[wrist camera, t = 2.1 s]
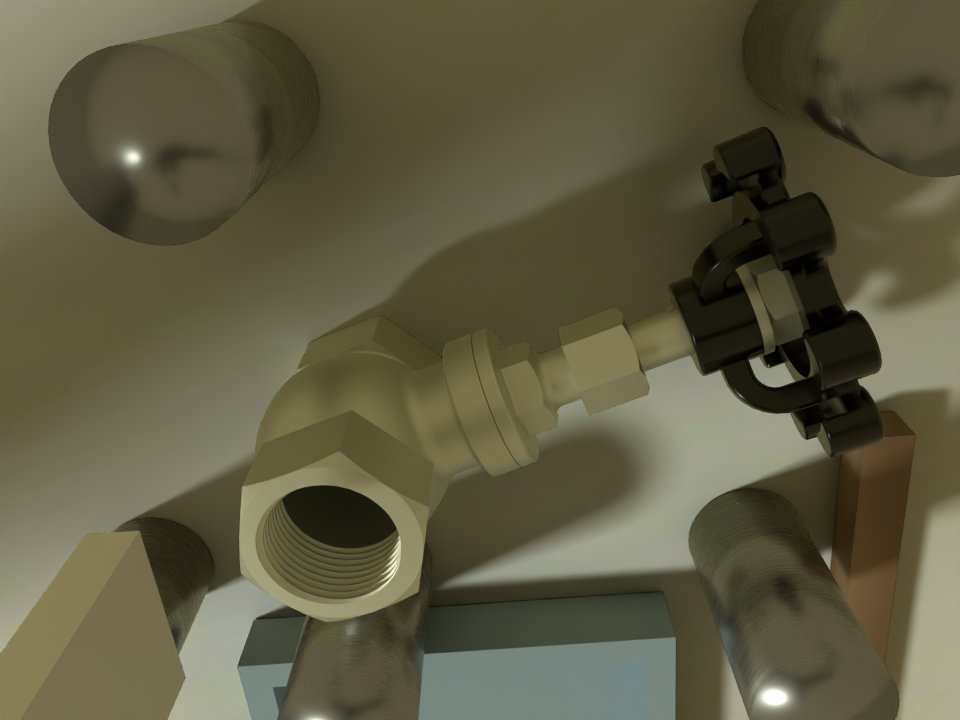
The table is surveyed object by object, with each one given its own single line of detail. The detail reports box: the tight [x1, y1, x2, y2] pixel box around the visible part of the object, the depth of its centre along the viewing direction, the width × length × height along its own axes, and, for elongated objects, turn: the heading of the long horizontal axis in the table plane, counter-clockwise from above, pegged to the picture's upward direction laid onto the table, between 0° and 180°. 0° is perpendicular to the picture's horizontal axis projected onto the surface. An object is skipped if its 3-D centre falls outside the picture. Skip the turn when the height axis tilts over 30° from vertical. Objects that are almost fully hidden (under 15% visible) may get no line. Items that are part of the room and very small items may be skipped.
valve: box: [239, 127, 885, 622], centre depth 18 cm, size 7×7×12 cm
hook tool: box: [830, 411, 916, 664], centre depth 24 cm, size 5×14×1 cm, turn 5°
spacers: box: [48, 0, 960, 720], centre depth 18 cm, size 20×16×6 cm
